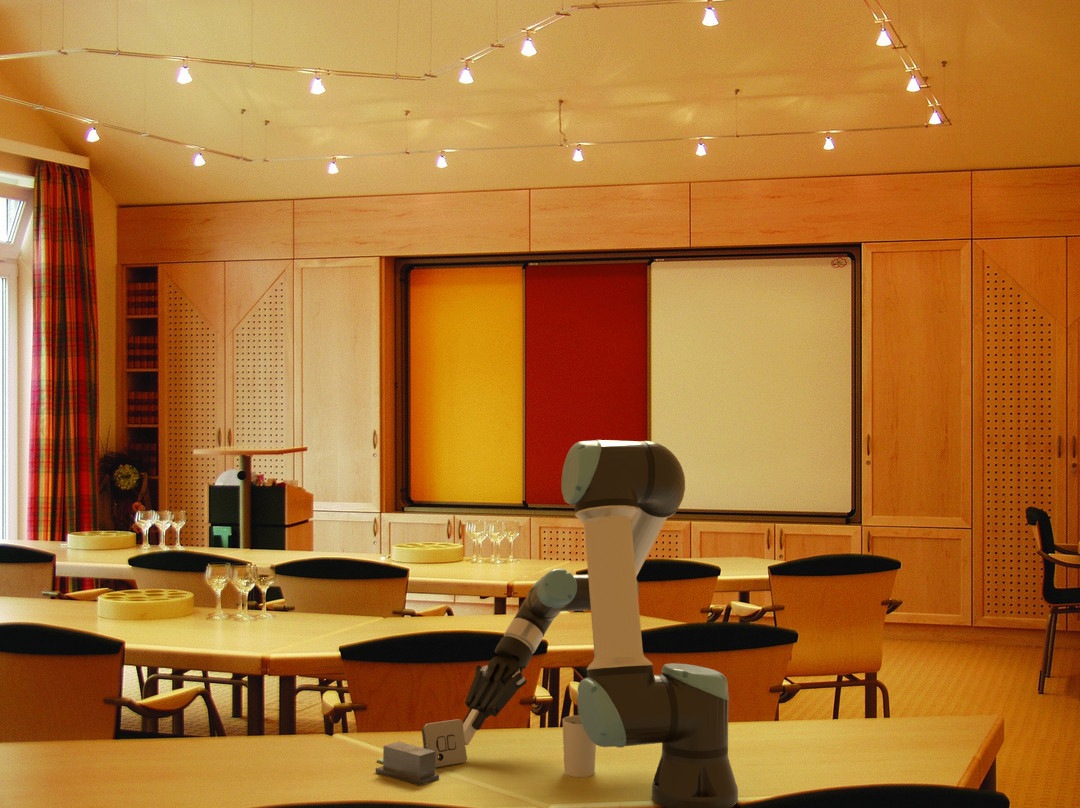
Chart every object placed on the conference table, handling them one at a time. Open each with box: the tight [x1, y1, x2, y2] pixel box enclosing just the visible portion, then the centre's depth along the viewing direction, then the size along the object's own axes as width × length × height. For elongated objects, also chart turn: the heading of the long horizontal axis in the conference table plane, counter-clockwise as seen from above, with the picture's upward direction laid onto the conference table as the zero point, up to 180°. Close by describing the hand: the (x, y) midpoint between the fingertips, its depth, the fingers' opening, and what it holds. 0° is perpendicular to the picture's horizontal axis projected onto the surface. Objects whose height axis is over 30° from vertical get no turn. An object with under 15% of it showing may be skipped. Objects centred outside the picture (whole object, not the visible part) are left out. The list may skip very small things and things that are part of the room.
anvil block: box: [375, 741, 440, 786], centre depth 204 cm, size 12×5×5 cm, turn 50°
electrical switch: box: [421, 718, 468, 769], centre depth 212 cm, size 8×5×8 cm, turn 124°
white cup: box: [562, 715, 597, 778], centre depth 207 cm, size 7×7×10 cm
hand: (462, 740), depth 216 cm, fingers closed
